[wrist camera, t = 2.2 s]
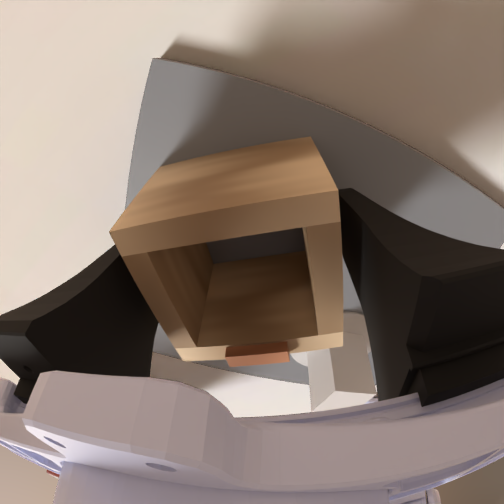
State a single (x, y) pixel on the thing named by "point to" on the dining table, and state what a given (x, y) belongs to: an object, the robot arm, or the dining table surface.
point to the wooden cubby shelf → (241, 271)
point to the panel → (287, 241)
